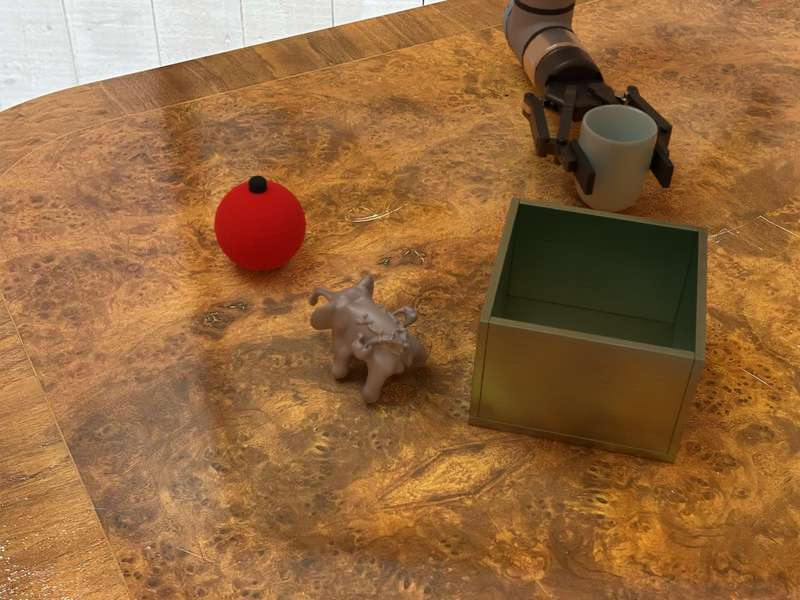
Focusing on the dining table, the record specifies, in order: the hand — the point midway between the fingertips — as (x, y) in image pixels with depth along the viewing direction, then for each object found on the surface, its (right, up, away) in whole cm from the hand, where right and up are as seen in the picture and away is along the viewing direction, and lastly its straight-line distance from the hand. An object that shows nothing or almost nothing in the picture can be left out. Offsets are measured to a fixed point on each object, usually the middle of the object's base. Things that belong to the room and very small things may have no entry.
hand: (629, 180), depth 111 cm
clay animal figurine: (-28, -18, -13) cm, 36 cm away
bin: (-7, -19, -13) cm, 24 cm away
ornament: (-38, -9, -2) cm, 39 cm away
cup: (-1, -2, +8) cm, 8 cm away
